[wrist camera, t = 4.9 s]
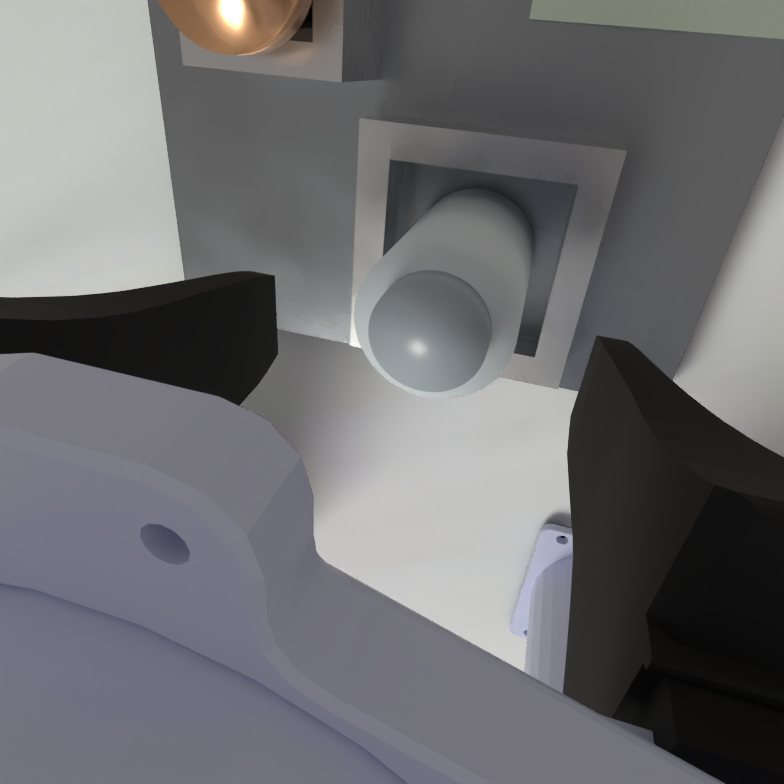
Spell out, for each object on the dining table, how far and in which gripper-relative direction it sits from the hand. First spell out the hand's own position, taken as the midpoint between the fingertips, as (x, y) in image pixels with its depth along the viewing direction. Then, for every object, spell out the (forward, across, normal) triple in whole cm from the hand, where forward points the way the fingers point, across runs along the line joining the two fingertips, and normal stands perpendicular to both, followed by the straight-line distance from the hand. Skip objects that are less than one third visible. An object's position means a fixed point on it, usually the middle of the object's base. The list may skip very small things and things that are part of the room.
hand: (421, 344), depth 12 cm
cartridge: (+8, 0, 0) cm, 8 cm away
